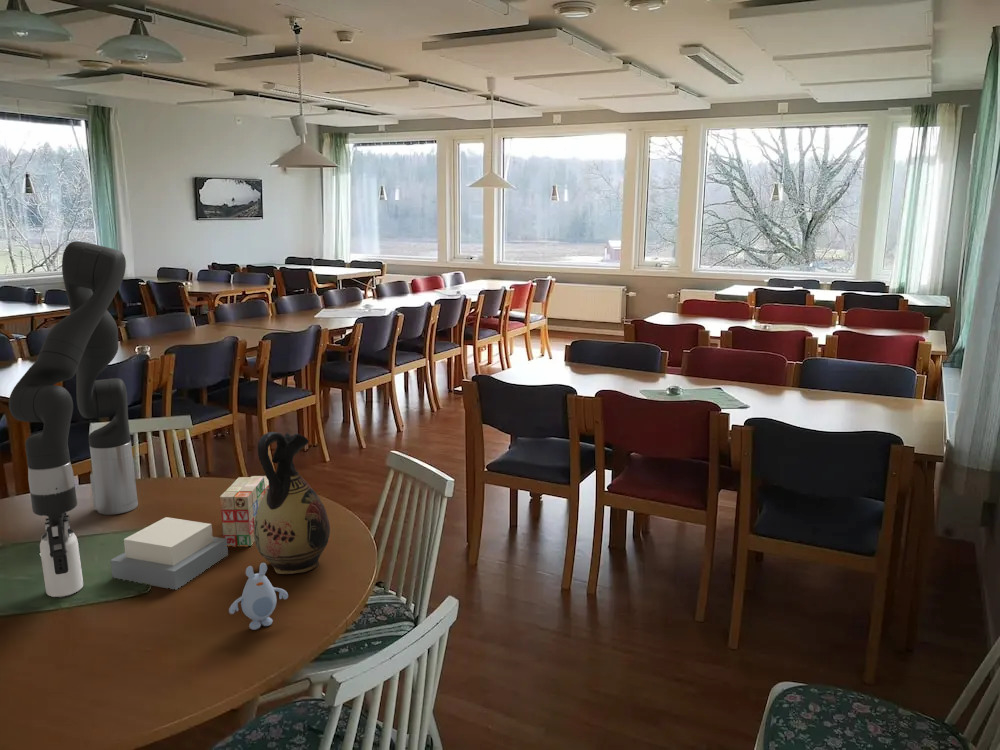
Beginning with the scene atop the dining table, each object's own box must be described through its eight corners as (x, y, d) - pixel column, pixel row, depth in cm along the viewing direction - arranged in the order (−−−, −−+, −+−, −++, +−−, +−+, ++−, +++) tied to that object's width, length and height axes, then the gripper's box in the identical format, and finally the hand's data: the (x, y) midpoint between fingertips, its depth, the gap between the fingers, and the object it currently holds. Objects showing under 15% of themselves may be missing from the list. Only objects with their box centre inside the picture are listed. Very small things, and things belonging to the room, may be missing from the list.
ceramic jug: (294, 543, 173) (285, 415, 167) (346, 558, 166) (339, 425, 159) (234, 574, 159) (222, 435, 153) (288, 592, 152) (278, 447, 145)
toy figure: (235, 642, 134) (230, 579, 132) (226, 626, 139) (221, 565, 137) (295, 624, 140) (291, 563, 137) (284, 609, 145) (280, 551, 142)
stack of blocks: (254, 510, 193) (250, 463, 190) (279, 510, 193) (276, 463, 190) (223, 547, 172) (219, 495, 169) (251, 547, 172) (247, 495, 169)
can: (88, 589, 153) (81, 533, 150) (52, 601, 148) (44, 544, 146) (76, 579, 157) (69, 524, 155) (41, 590, 153) (33, 534, 150)
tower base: (112, 578, 158) (108, 541, 156) (168, 545, 172) (165, 512, 171) (176, 590, 153) (172, 552, 151) (228, 555, 167) (225, 521, 166)
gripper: (73, 494, 143) (83, 575, 147) (75, 472, 156) (85, 546, 159) (26, 501, 140) (38, 583, 143) (32, 478, 153) (43, 554, 156)
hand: (63, 564), depth 151 cm, fingers open, 8 cm apart
